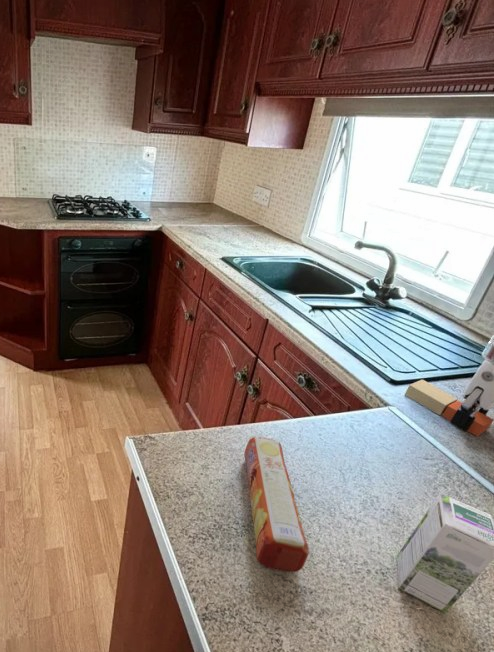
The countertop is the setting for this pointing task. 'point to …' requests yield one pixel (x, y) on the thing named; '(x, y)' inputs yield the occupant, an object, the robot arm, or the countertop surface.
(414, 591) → the syrup box
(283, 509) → the snack package
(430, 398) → the sand pad
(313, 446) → the countertop surface
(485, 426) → the terracotta pad
